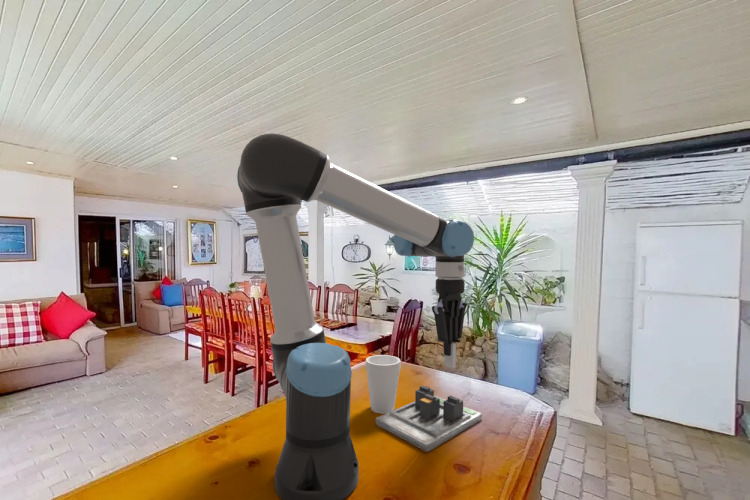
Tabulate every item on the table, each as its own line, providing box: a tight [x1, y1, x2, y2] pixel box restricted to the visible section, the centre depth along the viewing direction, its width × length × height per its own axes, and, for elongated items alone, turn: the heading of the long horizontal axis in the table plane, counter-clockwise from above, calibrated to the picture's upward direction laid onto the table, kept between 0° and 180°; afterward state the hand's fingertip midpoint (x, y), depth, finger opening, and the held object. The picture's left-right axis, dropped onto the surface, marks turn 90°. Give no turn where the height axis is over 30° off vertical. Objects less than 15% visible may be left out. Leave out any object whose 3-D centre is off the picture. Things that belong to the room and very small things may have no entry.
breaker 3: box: [443, 395, 464, 422], centre depth 85 cm, size 4×3×5 cm
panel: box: [375, 395, 483, 453], centre depth 85 cm, size 22×16×2 cm
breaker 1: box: [414, 385, 435, 408], centre depth 91 cm, size 4×3×5 cm
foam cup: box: [365, 354, 402, 415], centre depth 93 cm, size 10×9×13 cm
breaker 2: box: [420, 394, 440, 420], centre depth 85 cm, size 4×3×5 cm
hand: (450, 366), depth 91 cm, fingers closed
